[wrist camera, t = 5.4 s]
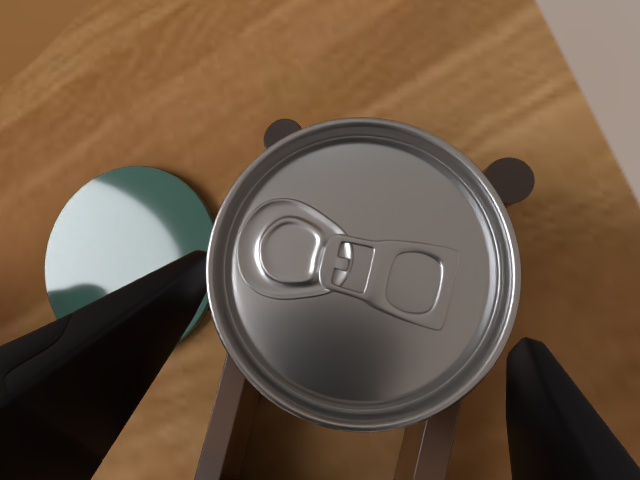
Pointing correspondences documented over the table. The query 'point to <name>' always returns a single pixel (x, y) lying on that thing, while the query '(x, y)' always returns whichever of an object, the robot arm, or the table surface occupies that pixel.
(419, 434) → the rack
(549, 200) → the table surface
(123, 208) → the coaster
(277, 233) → the can
